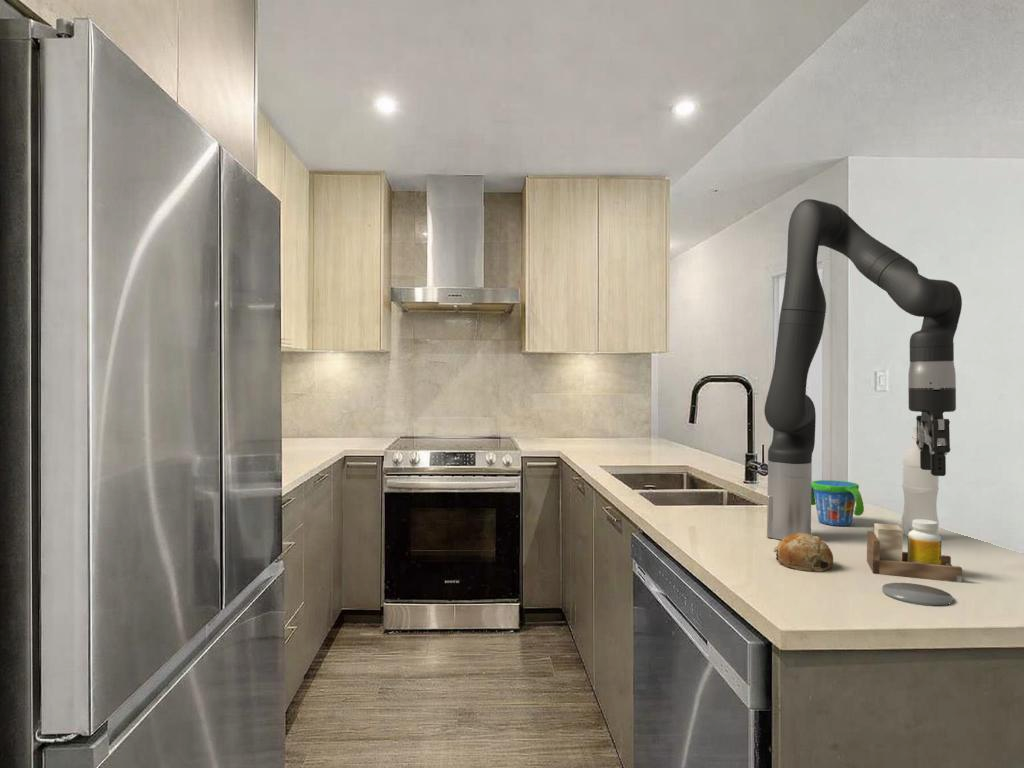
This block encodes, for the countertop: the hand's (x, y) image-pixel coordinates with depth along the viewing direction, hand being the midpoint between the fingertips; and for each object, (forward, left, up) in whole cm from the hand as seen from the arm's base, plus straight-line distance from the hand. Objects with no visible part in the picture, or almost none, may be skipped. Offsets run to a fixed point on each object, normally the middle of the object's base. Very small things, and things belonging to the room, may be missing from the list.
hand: (932, 472), depth 125 cm
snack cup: (-13, +39, -19) cm, 46 cm away
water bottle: (+4, +31, -19) cm, 37 cm away
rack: (-3, -1, -19) cm, 19 cm away
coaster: (-5, -17, -19) cm, 26 cm away
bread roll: (-22, -4, -19) cm, 30 cm away
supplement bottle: (-1, -1, -19) cm, 19 cm away
